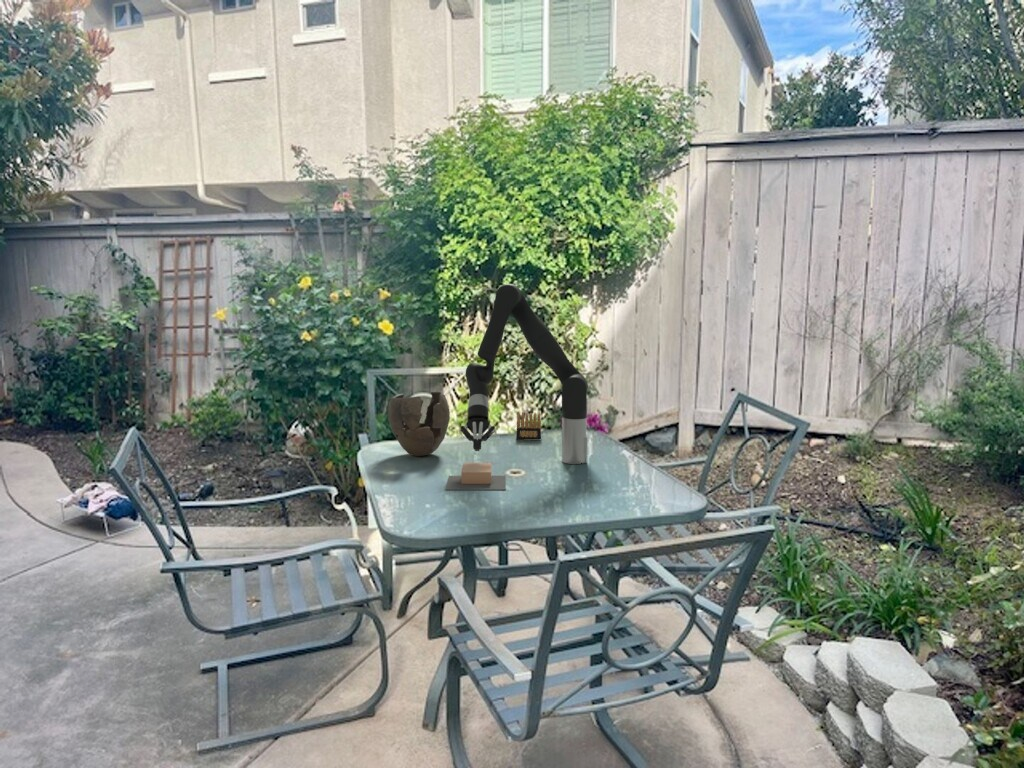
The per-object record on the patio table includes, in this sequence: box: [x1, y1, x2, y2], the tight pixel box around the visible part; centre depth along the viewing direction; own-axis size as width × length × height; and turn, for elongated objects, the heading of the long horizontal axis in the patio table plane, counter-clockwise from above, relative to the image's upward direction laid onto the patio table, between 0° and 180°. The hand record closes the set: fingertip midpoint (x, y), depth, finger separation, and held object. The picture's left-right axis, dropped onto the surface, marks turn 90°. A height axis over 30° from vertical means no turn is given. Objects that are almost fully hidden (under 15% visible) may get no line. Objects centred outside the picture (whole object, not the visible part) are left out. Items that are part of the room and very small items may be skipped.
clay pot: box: [387, 391, 451, 457], centre depth 277 cm, size 24×24×25 cm
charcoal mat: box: [444, 475, 507, 491], centre depth 242 cm, size 20×16×1 cm
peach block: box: [460, 462, 493, 484], centre depth 245 cm, size 10×4×12 cm
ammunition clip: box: [515, 411, 542, 441], centre depth 304 cm, size 11×2×12 cm, turn 87°
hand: (477, 449), depth 250 cm, fingers closed
